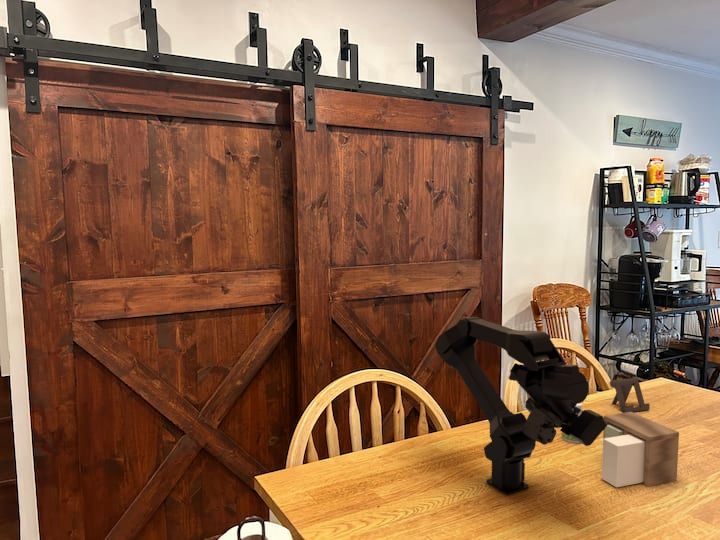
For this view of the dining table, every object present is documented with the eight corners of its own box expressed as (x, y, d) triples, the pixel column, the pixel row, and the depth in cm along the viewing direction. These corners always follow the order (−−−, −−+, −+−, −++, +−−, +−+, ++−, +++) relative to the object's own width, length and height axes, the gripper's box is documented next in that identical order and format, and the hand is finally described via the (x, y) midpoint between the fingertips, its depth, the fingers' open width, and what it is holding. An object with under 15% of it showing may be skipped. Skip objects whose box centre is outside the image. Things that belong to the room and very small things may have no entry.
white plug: (616, 487, 111) (617, 446, 111) (601, 478, 115) (603, 438, 115) (660, 478, 115) (662, 438, 114) (644, 470, 119) (646, 431, 118)
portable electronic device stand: (624, 414, 154) (625, 386, 154) (605, 405, 162) (606, 378, 161) (649, 411, 157) (650, 383, 156) (629, 402, 164) (631, 376, 163)
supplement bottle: (560, 441, 136) (561, 404, 135) (563, 433, 140) (564, 398, 140) (583, 445, 133) (584, 407, 132) (585, 437, 138) (586, 401, 137)
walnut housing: (644, 487, 112) (646, 437, 111) (599, 461, 124) (600, 416, 123) (676, 480, 115) (679, 432, 114) (629, 455, 127) (631, 411, 126)
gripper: (491, 404, 113) (532, 449, 117) (546, 439, 95) (592, 490, 100) (525, 366, 115) (564, 412, 119) (586, 394, 97) (629, 447, 101)
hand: (584, 439), depth 110 cm, fingers closed
